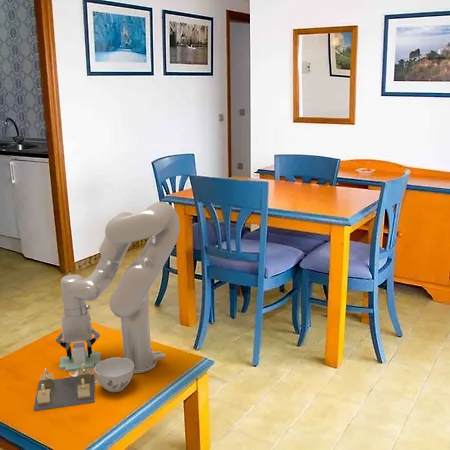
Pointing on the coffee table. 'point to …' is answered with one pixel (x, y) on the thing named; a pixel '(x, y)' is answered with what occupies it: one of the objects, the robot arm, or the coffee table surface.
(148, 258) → the robot arm
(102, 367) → the teacup
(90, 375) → the chassis
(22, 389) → the coffee table surface
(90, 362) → the circuit board
